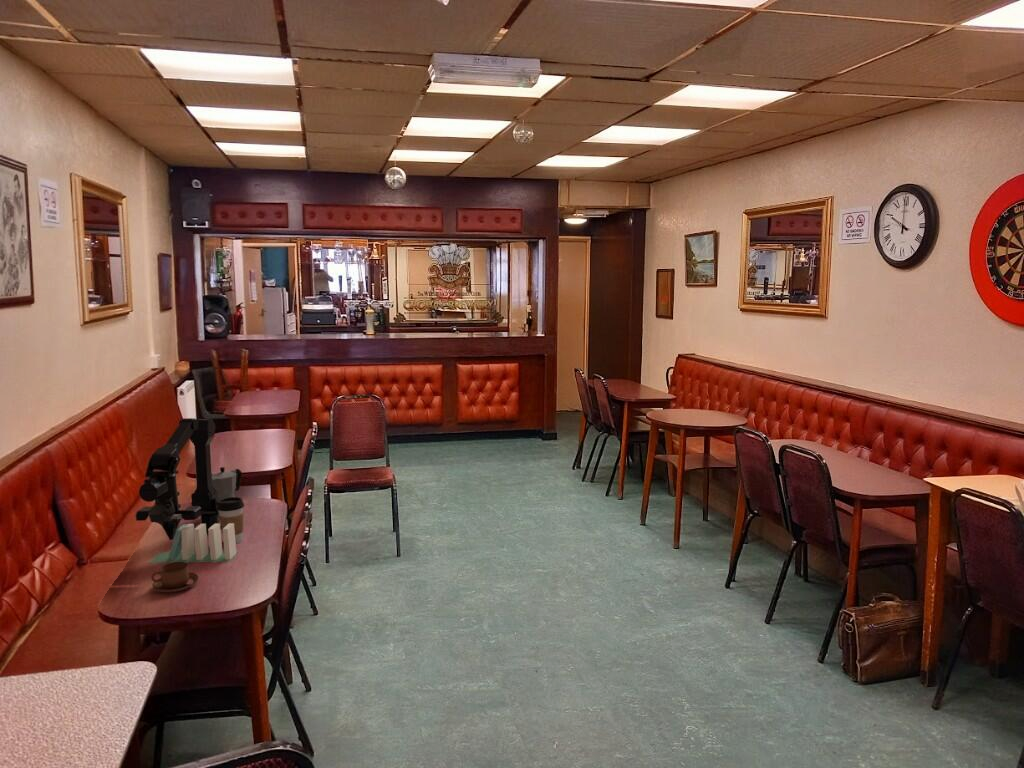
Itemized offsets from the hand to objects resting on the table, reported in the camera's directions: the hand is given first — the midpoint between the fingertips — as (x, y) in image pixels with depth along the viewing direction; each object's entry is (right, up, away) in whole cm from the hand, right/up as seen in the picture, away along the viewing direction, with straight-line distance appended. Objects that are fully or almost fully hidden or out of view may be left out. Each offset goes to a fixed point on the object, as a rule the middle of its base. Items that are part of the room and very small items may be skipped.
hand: (171, 539), depth 230 cm
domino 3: (+9, -6, +1) cm, 11 cm away
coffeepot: (+1, 0, +44) cm, 44 cm away
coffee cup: (+14, -4, +14) cm, 20 cm away
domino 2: (+5, -6, +1) cm, 7 cm away
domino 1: (0, -6, +1) cm, 6 cm away
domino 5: (+18, -6, +1) cm, 19 cm away
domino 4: (+14, -6, +1) cm, 15 cm away
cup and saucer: (+10, -10, -19) cm, 24 cm away
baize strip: (+7, -6, +1) cm, 9 cm away
